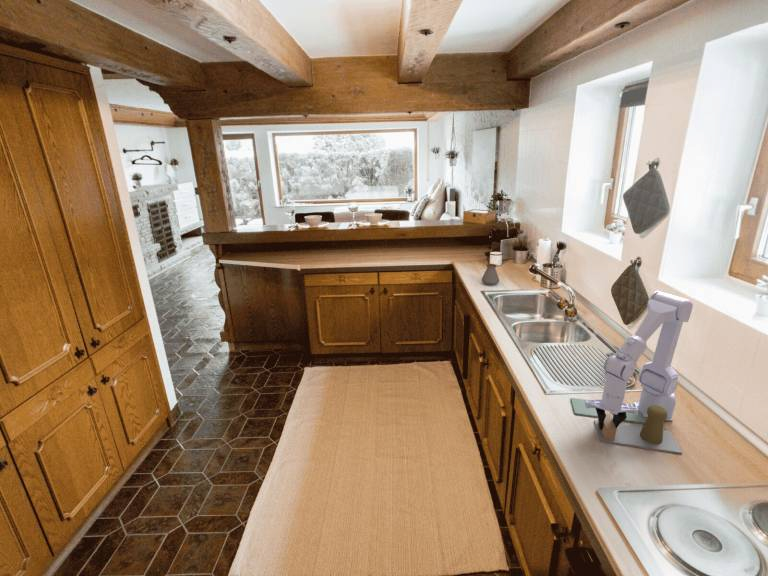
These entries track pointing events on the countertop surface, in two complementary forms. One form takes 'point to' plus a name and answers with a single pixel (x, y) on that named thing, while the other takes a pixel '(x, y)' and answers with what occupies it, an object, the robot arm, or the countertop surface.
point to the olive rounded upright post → (654, 425)
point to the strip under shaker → (633, 436)
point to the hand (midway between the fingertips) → (606, 428)
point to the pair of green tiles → (591, 412)
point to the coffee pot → (490, 275)
